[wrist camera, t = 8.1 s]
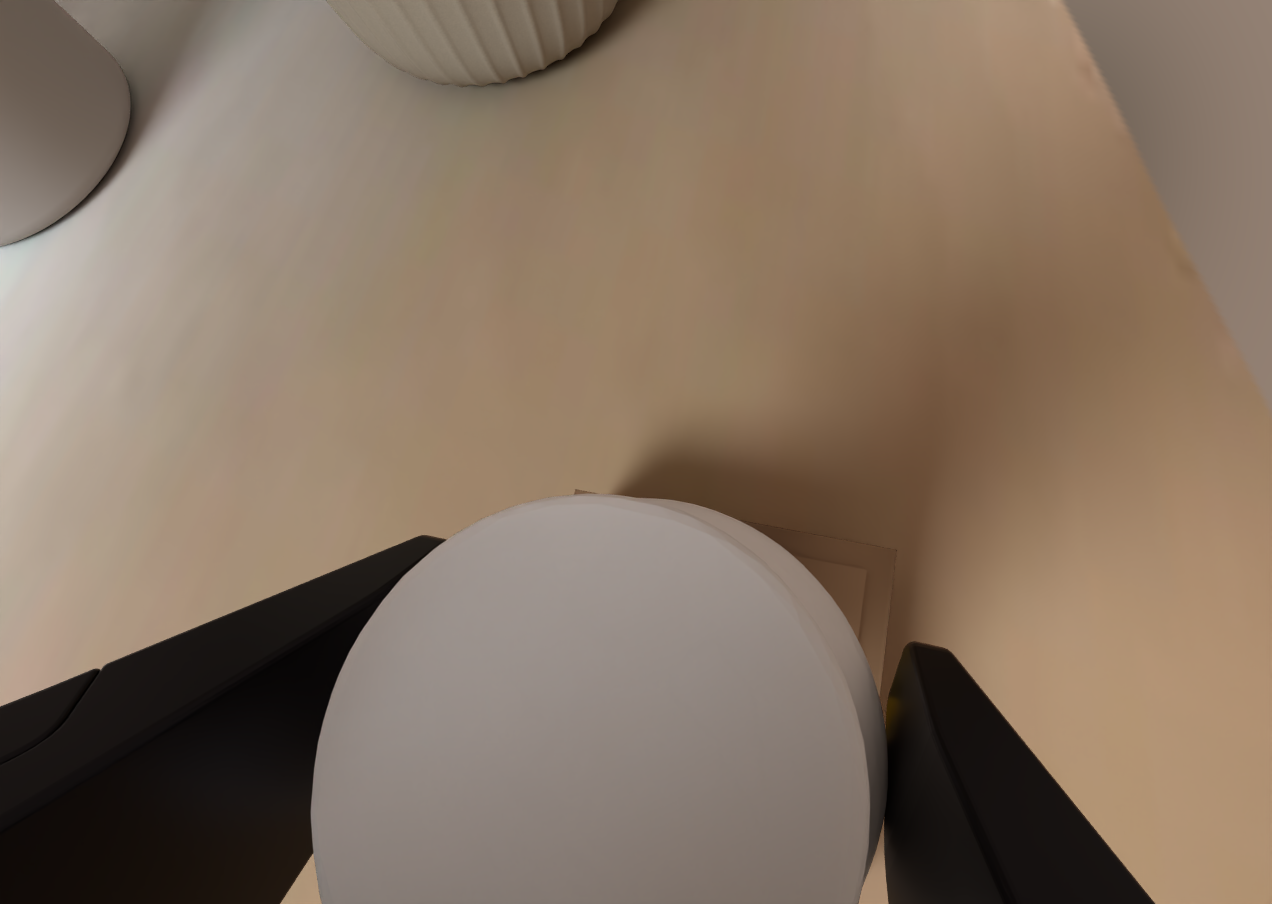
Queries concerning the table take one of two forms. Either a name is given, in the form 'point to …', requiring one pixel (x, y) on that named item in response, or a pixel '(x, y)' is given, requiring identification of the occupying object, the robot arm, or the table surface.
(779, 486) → the table surface
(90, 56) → the cylinder vase
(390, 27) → the canister
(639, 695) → the supplement bottle
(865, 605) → the square wooden block
